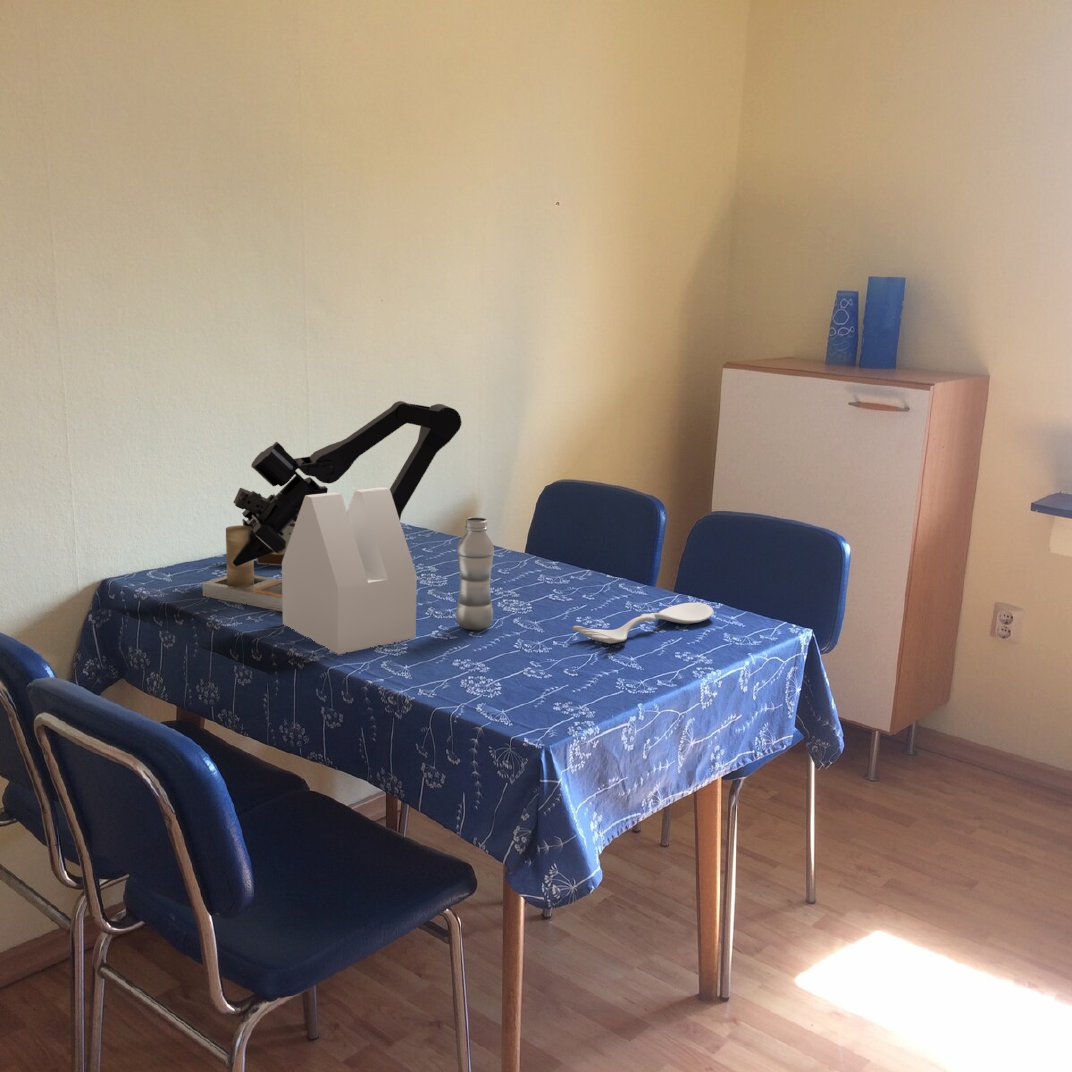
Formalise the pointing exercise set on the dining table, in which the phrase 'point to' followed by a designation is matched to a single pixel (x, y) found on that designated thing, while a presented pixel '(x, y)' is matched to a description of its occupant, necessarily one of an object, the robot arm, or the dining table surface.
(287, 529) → the food container
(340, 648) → the white notched block
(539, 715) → the dining table surface
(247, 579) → the wooden peg
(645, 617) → the spoon
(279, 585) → the compartment tray
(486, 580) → the plastic bottle
